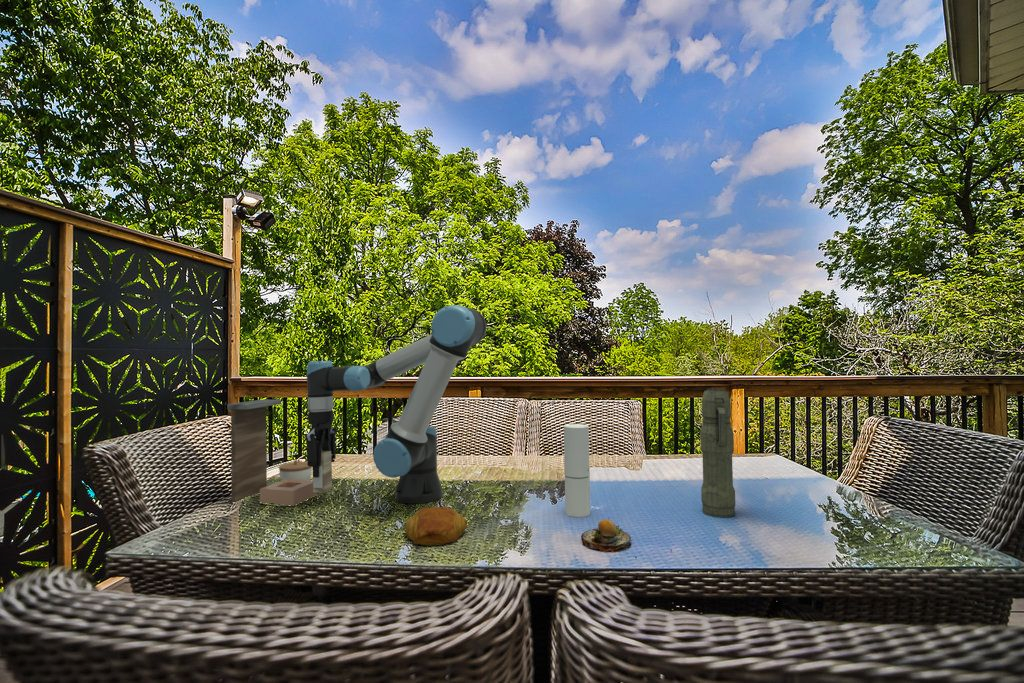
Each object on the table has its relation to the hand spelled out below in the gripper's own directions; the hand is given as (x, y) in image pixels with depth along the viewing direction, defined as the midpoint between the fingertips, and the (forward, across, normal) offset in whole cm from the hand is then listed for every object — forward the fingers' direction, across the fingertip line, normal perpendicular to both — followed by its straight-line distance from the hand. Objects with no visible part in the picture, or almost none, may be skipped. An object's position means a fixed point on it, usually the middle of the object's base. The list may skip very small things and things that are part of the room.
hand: (322, 485), depth 158 cm
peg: (+2, 0, 0) cm, 2 cm away
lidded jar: (+6, -17, -22) cm, 29 cm away
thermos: (+9, -14, +118) cm, 119 cm away
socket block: (+6, -2, -14) cm, 15 cm away
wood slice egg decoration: (+8, +15, +87) cm, 89 cm away
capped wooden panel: (+5, -2, -26) cm, 26 cm away
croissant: (+7, +19, +45) cm, 49 cm away
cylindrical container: (+8, -6, +78) cm, 79 cm away
